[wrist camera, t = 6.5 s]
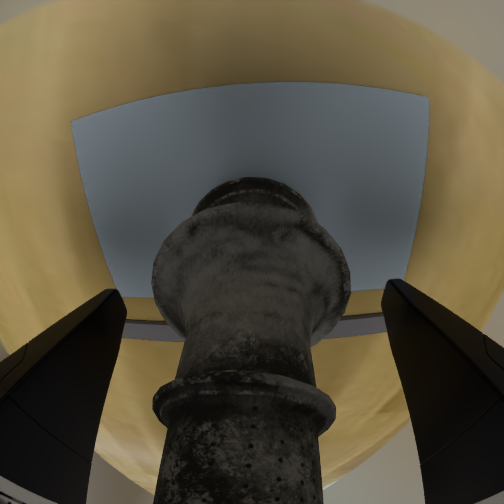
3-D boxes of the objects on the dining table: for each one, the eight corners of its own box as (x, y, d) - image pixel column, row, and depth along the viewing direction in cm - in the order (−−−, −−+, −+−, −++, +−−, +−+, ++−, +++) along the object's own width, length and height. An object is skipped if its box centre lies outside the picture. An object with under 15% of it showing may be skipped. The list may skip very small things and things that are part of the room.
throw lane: (409, 324, 16) (412, 328, 15) (116, 333, 17) (114, 338, 16) (455, 105, 9) (460, 105, 8) (48, 131, 10) (44, 132, 9)
